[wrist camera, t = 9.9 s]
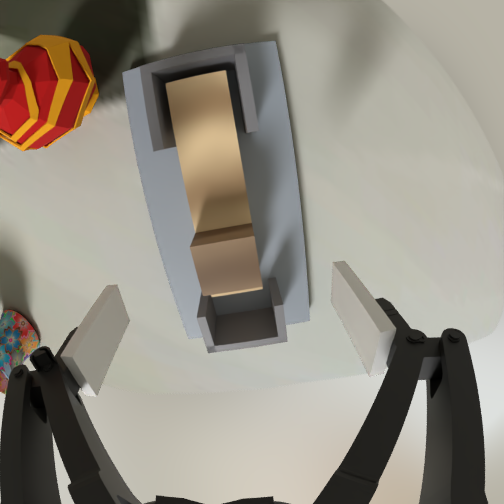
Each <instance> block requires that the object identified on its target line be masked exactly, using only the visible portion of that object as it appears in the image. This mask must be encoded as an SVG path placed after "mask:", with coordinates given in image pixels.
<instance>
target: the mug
mask: <svg viewBox="0 0 504 504" xmlns="http://www.w3.org/2000/svg"><path fill="white" fill-rule="evenodd" d="M39 347H40V343H39V339H38V336H37V334H36V332H35V330H34V329H33V327H32V326H31V324H30V323H29V322H28V321H27V320H26V319H25V318H24V317H23V316H22V315H20V314H19V313H17V312H15V311H13V310H6V311H4V312H3V313H2V315H1V319H0V392H2V393H4V394H6V391H7V385H8V380H9V375H10V372H11V371H12V370H13V368H14V367H16V366H18V365H22V364H23V363H24V361H25V360H26V359H27V358H28V357H29V356H31V354H32V352H33V351H34V350H36V349H37V348H39Z"/></svg>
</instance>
